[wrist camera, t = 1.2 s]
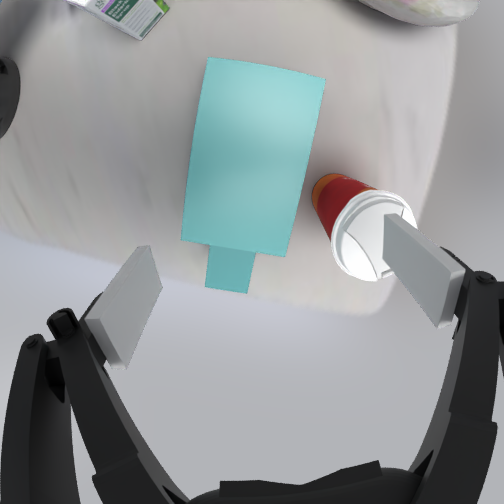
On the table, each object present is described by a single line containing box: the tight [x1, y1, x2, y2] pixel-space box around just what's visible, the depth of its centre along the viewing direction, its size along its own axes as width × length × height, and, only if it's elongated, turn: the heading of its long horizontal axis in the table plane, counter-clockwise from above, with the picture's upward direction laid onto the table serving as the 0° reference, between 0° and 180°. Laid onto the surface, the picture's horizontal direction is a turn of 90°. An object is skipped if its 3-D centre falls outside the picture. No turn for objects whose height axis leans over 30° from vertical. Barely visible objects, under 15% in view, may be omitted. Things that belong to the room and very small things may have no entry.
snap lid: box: [181, 57, 326, 294], centre depth 29 cm, size 23×11×6 cm, turn 170°
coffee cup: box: [312, 174, 417, 281], centre depth 29 cm, size 8×8×15 cm
